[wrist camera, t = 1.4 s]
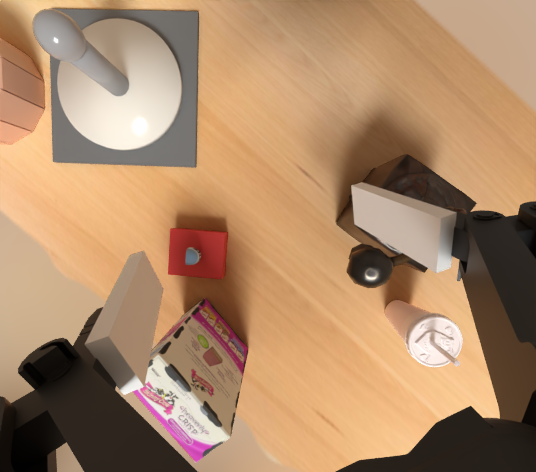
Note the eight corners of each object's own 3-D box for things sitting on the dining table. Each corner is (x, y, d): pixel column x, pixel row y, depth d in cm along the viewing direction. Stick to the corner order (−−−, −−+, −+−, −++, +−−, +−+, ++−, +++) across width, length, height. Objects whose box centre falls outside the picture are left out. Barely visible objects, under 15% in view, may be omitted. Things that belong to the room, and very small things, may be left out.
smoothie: (376, 292, 39) (430, 333, 26) (417, 290, 39) (496, 331, 25) (376, 332, 40) (430, 394, 26) (418, 330, 40) (494, 392, 26)
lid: (62, 23, 37) (-54, -82, 24) (183, 25, 37) (133, -80, 24) (65, 148, 39) (-43, 114, 26) (182, 152, 38) (133, 119, 25)
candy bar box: (182, 315, 41) (119, 381, 24) (205, 296, 40) (157, 350, 24) (226, 367, 41) (194, 467, 25) (250, 349, 41) (233, 438, 25)
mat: (51, 11, 38) (48, 8, 37) (198, 14, 37) (197, 11, 37) (55, 162, 39) (52, 161, 39) (196, 167, 39) (195, 166, 38)
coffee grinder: (370, 163, 38) (456, 116, 20) (431, 204, 38) (568, 195, 20) (311, 248, 39) (342, 275, 21) (370, 288, 40) (449, 348, 22)
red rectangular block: (228, 232, 40) (219, 235, 33) (225, 274, 40) (215, 285, 34) (177, 227, 40) (159, 230, 34) (175, 270, 40) (156, 280, 34)
